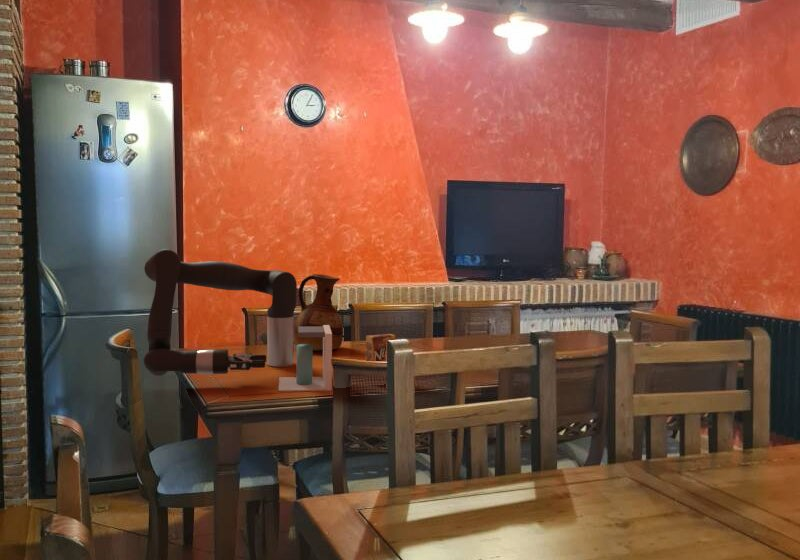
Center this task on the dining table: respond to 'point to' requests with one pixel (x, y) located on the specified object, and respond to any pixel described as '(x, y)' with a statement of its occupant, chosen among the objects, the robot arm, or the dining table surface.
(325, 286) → the ceramic pitcher
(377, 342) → the candy box
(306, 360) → the post
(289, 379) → the stand
